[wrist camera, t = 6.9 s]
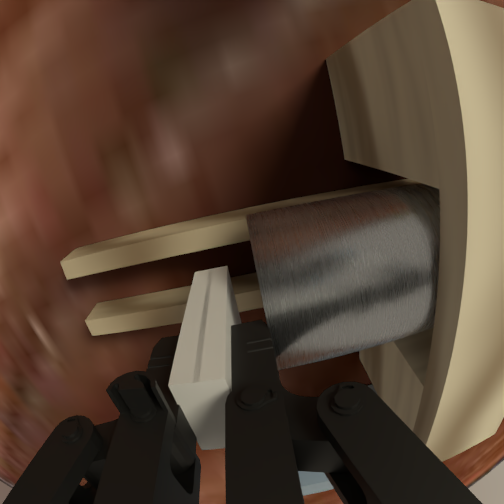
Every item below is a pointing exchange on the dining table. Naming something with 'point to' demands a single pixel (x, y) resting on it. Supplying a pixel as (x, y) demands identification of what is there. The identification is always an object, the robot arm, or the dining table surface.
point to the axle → (347, 271)
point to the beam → (393, 161)
